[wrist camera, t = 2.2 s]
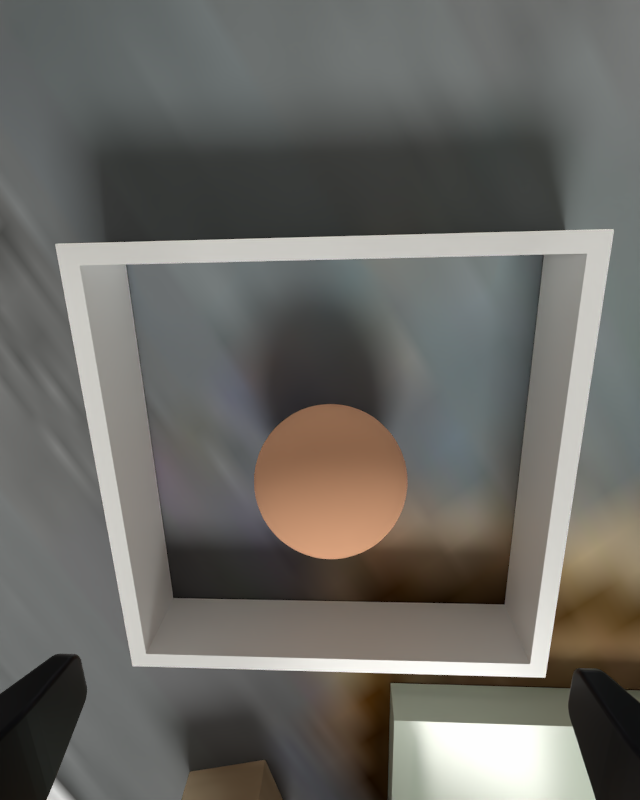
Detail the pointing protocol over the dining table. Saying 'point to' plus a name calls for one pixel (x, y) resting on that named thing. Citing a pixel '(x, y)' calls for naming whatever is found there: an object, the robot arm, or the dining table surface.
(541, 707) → the dish
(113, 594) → the dining table surface
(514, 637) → the open rectangular frame
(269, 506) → the ball
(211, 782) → the oak cube
